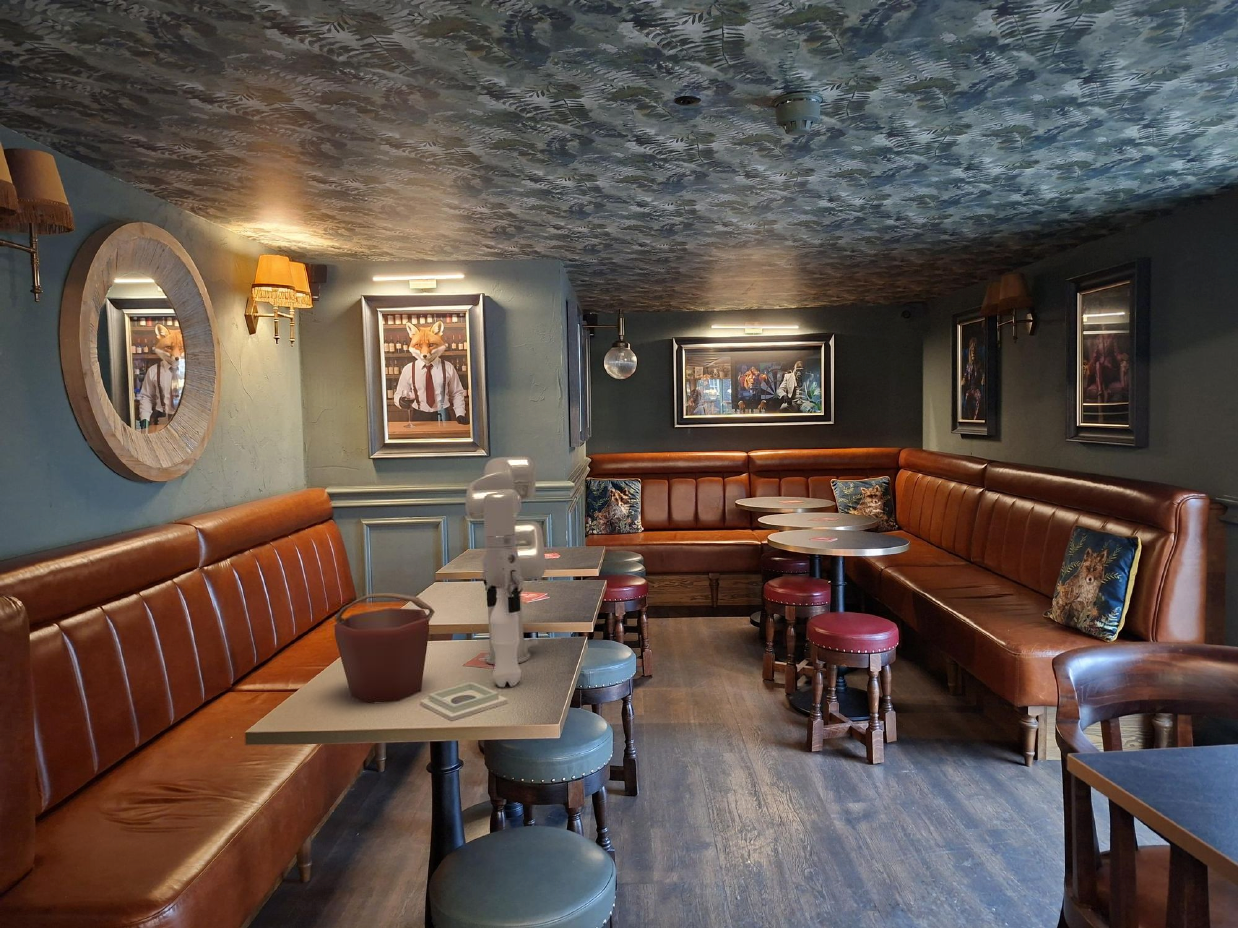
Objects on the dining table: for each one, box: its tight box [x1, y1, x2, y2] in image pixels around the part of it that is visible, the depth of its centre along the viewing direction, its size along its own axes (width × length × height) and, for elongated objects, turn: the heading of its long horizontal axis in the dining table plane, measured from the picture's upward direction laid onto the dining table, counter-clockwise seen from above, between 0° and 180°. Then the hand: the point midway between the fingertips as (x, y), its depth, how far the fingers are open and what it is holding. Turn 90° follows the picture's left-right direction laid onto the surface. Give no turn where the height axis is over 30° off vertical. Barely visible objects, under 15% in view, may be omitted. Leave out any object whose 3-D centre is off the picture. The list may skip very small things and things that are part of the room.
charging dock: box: [419, 681, 509, 722], centre depth 188 cm, size 15×15×2 cm
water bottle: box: [490, 587, 522, 688], centre depth 200 cm, size 7×7×25 cm
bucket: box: [333, 592, 436, 704], centre depth 198 cm, size 24×22×25 cm
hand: (503, 608), depth 200 cm, fingers open, 9 cm apart
